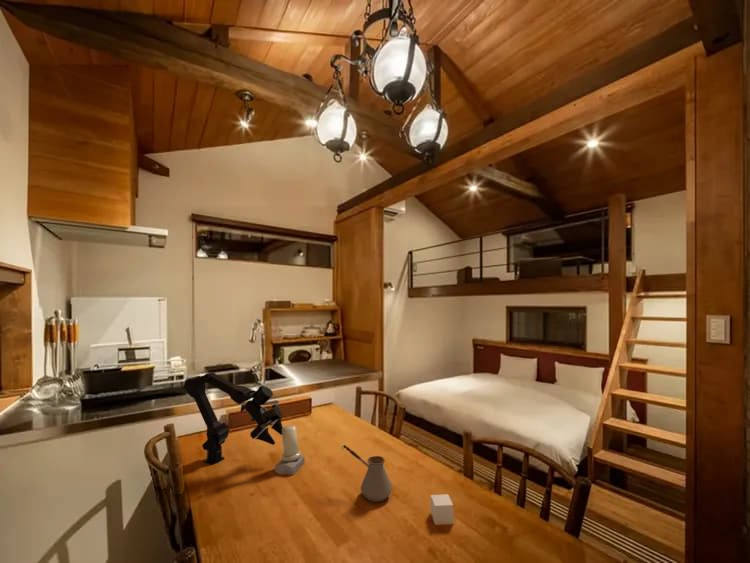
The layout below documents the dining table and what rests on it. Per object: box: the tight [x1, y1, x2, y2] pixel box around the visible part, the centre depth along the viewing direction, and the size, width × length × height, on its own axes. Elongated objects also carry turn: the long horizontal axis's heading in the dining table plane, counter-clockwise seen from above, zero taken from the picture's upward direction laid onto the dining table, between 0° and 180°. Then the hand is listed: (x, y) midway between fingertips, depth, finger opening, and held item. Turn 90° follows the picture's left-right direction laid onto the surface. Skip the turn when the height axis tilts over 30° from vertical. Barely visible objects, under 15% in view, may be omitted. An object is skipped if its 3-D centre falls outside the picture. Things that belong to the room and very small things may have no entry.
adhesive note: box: [430, 493, 454, 526], centre depth 112 cm, size 6×6×6 cm
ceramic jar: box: [281, 424, 302, 462], centre depth 147 cm, size 8×8×12 cm
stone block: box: [274, 455, 306, 476], centre depth 146 cm, size 12×5×10 cm
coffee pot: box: [341, 444, 393, 503], centre depth 128 cm, size 21×12×15 cm, turn 58°
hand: (279, 439), depth 147 cm, fingers open, 9 cm apart
